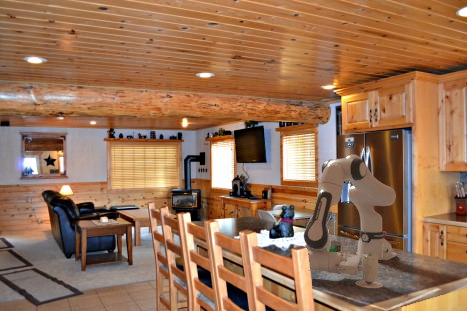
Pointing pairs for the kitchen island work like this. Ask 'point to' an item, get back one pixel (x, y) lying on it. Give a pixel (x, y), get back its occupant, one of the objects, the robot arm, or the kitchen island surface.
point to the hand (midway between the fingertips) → (371, 266)
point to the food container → (335, 246)
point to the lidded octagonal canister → (373, 263)
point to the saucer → (372, 285)
